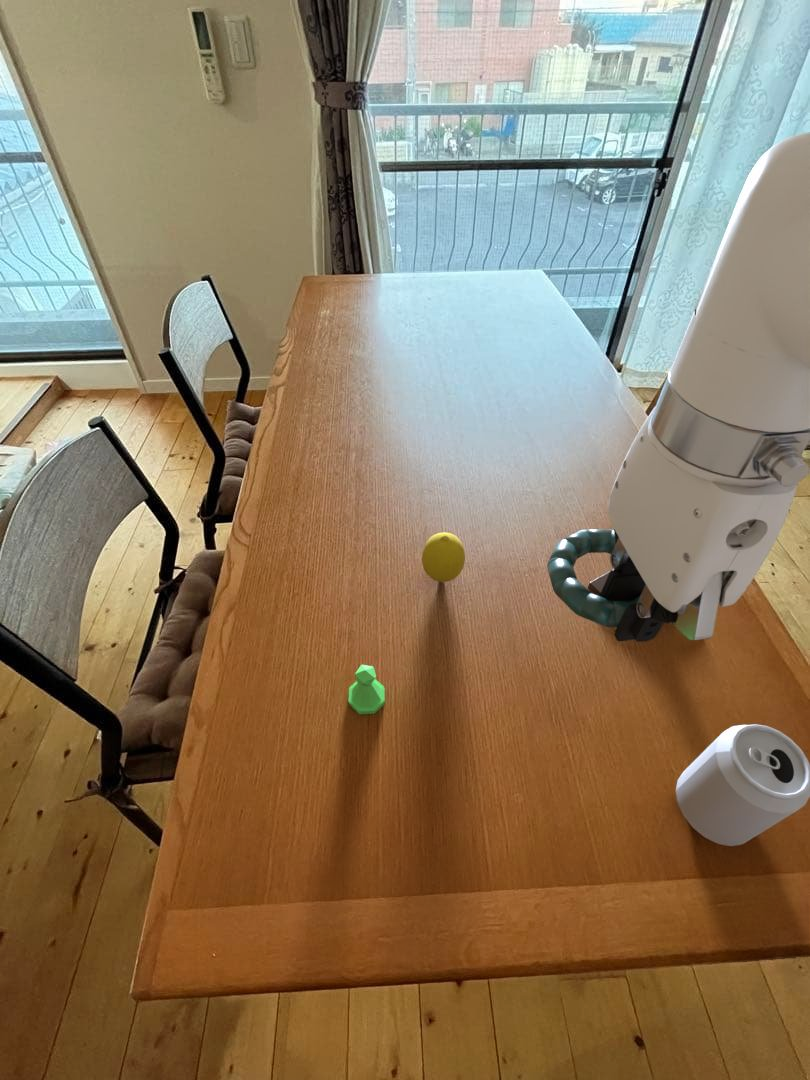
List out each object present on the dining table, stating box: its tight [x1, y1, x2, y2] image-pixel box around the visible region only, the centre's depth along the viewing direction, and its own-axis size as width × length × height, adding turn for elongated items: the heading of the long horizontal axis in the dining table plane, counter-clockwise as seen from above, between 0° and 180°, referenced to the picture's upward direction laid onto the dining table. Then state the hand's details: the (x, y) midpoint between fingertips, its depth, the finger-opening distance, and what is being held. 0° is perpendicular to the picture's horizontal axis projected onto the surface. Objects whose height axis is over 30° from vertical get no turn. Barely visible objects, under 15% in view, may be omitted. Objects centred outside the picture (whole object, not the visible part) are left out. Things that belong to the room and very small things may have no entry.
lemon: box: [421, 531, 466, 583], centre depth 71 cm, size 6×6×8 cm
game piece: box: [348, 664, 386, 715], centre depth 60 cm, size 4×4×6 cm
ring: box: [546, 528, 640, 629], centre depth 45 cm, size 10×10×2 cm
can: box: [675, 723, 810, 847], centre depth 50 cm, size 8×8×12 cm
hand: (625, 618), depth 43 cm, fingers closed on ring, 2 cm apart
